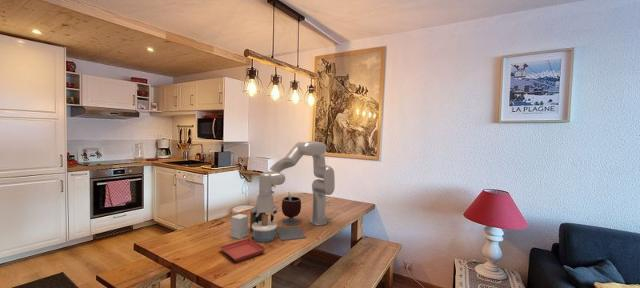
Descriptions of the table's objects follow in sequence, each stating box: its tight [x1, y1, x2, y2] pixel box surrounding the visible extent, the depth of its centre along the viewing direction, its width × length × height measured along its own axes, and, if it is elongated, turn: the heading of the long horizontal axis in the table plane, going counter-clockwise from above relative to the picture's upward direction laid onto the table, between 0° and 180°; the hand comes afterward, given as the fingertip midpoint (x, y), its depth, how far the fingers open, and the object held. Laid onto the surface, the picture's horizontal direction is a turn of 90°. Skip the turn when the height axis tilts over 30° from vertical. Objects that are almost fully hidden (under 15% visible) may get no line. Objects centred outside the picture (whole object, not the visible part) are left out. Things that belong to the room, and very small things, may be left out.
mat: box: [276, 225, 308, 242], centre depth 172 cm, size 16×20×1 cm
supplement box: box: [230, 213, 249, 240], centre depth 164 cm, size 7×7×13 cm
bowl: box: [252, 229, 277, 243], centre depth 163 cm, size 13×13×7 cm
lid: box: [252, 213, 278, 232], centre depth 163 cm, size 15×15×8 cm
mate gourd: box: [281, 191, 302, 226], centre depth 193 cm, size 16×14×20 cm
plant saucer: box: [219, 238, 266, 263], centre depth 143 cm, size 18×18×3 cm
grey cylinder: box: [249, 209, 266, 233], centre depth 175 cm, size 10×10×15 cm
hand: (264, 221), depth 163 cm, fingers open, 8 cm apart
